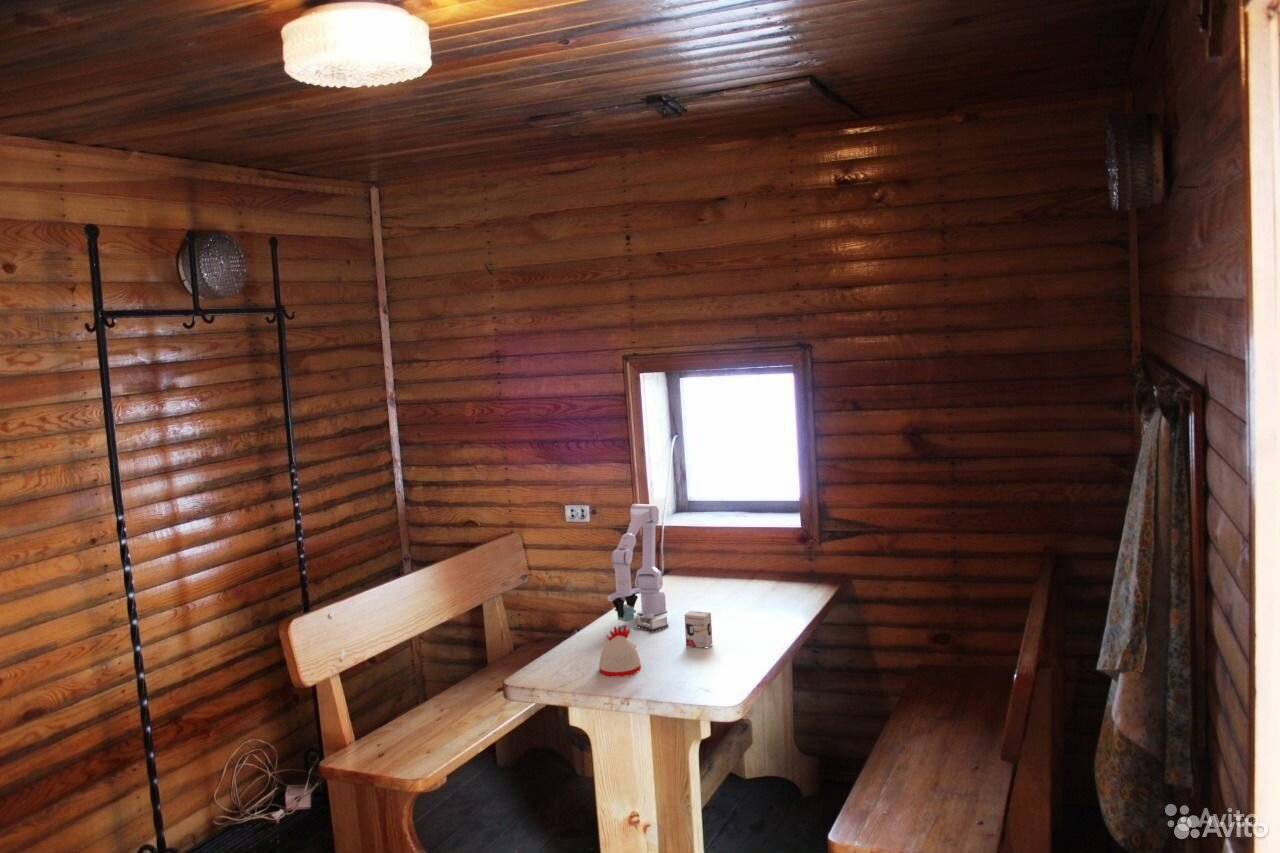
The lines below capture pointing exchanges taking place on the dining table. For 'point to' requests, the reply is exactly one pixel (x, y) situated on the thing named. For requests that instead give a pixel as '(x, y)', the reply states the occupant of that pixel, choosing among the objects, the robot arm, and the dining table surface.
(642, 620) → the plate
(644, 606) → the robot arm
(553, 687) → the dining table surface
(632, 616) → the block
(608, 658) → the chicken hat
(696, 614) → the ink box
